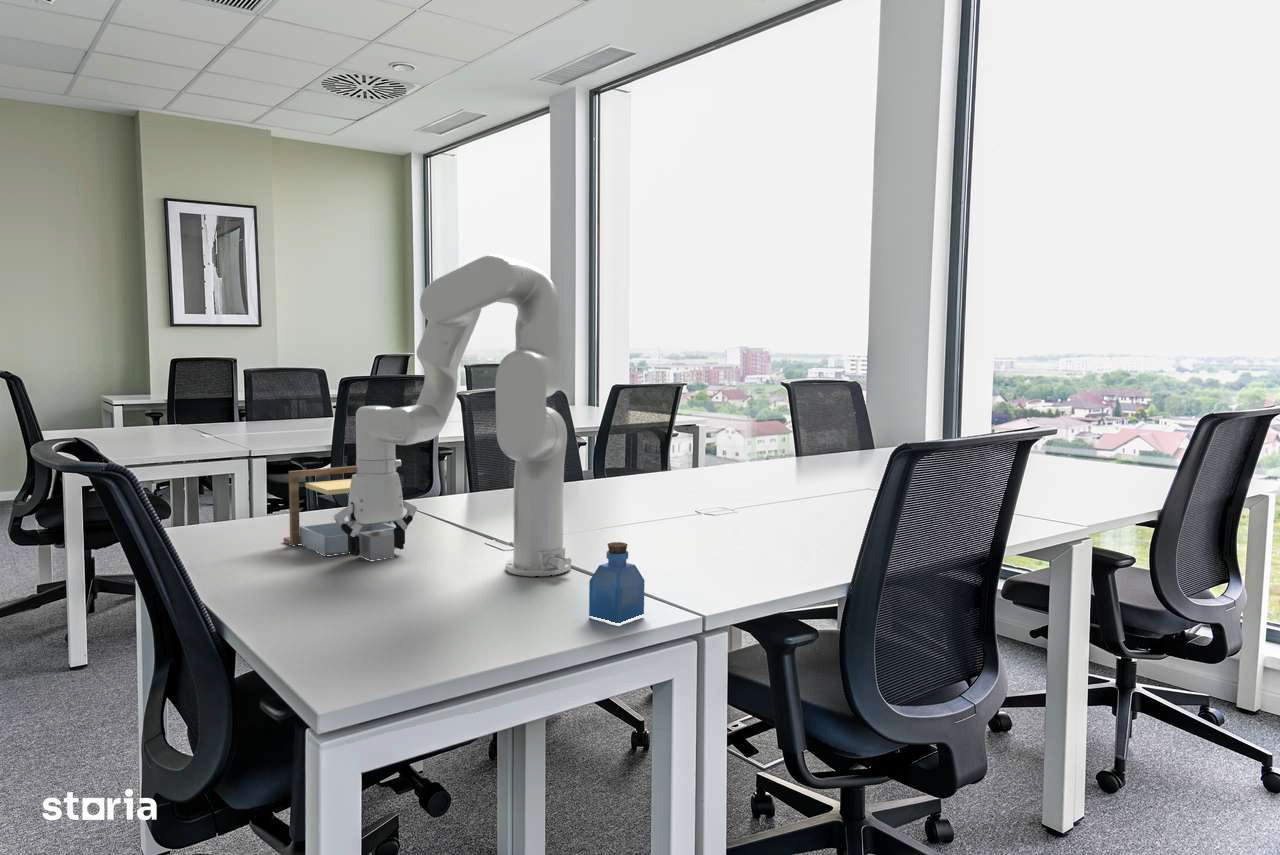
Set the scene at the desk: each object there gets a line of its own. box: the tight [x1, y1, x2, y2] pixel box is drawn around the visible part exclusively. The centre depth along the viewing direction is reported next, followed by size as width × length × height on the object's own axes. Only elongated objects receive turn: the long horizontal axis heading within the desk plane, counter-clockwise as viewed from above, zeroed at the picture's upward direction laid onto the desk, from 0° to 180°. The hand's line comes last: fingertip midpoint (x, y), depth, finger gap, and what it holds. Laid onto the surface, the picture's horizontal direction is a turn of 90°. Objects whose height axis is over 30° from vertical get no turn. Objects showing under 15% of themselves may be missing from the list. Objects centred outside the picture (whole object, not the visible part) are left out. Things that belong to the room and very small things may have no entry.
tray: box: [299, 520, 396, 556], centre depth 183 cm, size 14×16×4 cm
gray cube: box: [359, 530, 395, 560], centre depth 173 cm, size 5×5×5 cm
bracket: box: [283, 465, 357, 545], centre depth 189 cm, size 6×20×16 cm, turn 132°
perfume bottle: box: [588, 541, 645, 623], centre depth 136 cm, size 6×6×12 cm
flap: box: [304, 478, 352, 496], centre depth 182 cm, size 12×14×1 cm
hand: (377, 551), depth 173 cm, fingers open, 9 cm apart
